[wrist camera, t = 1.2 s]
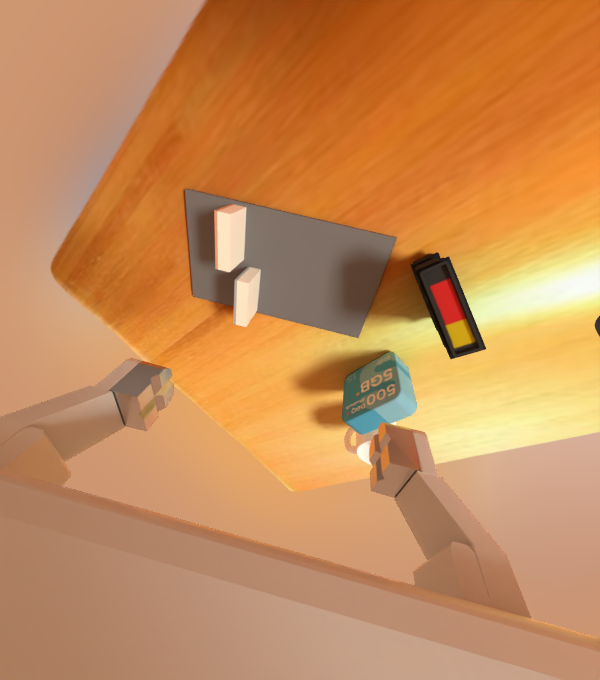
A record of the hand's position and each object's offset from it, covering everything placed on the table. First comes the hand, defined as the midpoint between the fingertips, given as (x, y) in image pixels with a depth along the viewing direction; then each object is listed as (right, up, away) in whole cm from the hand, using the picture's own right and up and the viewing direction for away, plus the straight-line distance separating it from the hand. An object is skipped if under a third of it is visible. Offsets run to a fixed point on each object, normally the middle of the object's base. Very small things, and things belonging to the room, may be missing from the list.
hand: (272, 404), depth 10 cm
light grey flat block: (-7, +11, +36) cm, 39 cm away
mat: (-2, +14, +34) cm, 37 cm away
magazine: (+21, +12, +31) cm, 39 cm away
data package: (+16, -4, +43) cm, 46 cm away
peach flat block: (-9, +19, +31) cm, 38 cm away
